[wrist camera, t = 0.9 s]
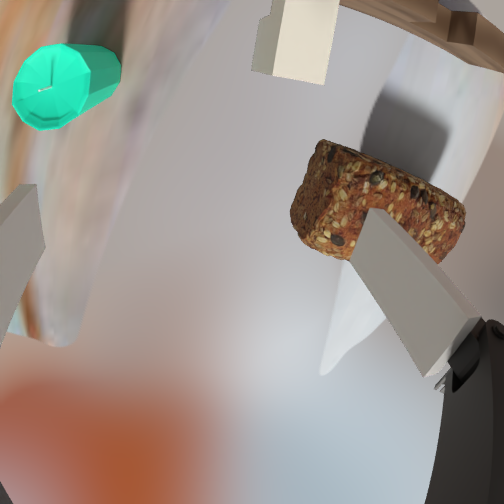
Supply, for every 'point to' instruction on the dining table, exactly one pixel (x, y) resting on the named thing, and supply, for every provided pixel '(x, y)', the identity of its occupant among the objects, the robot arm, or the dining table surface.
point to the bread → (369, 203)
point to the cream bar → (296, 39)
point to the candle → (63, 83)
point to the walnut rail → (441, 28)
